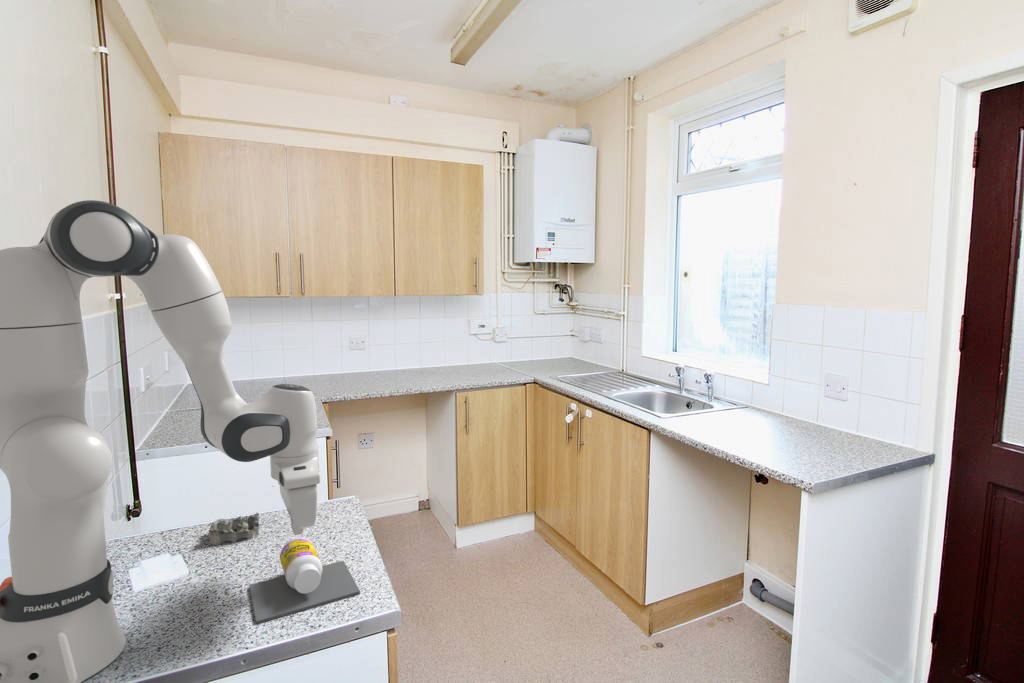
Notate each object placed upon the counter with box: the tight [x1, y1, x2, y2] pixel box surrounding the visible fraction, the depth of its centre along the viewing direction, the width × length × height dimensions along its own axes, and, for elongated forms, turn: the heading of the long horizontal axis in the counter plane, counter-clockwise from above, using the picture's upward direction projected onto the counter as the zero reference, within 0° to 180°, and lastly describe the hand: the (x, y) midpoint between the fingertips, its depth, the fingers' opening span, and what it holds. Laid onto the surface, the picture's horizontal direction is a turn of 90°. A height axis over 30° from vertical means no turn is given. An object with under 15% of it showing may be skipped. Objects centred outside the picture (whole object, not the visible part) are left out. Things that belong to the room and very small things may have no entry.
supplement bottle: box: [279, 536, 323, 594], centre depth 103 cm, size 7×7×13 cm
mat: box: [249, 560, 361, 625], centre depth 101 cm, size 18×13×1 cm
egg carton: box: [208, 512, 260, 546], centre depth 124 cm, size 11×8×4 cm
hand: (297, 531), depth 105 cm, fingers closed
